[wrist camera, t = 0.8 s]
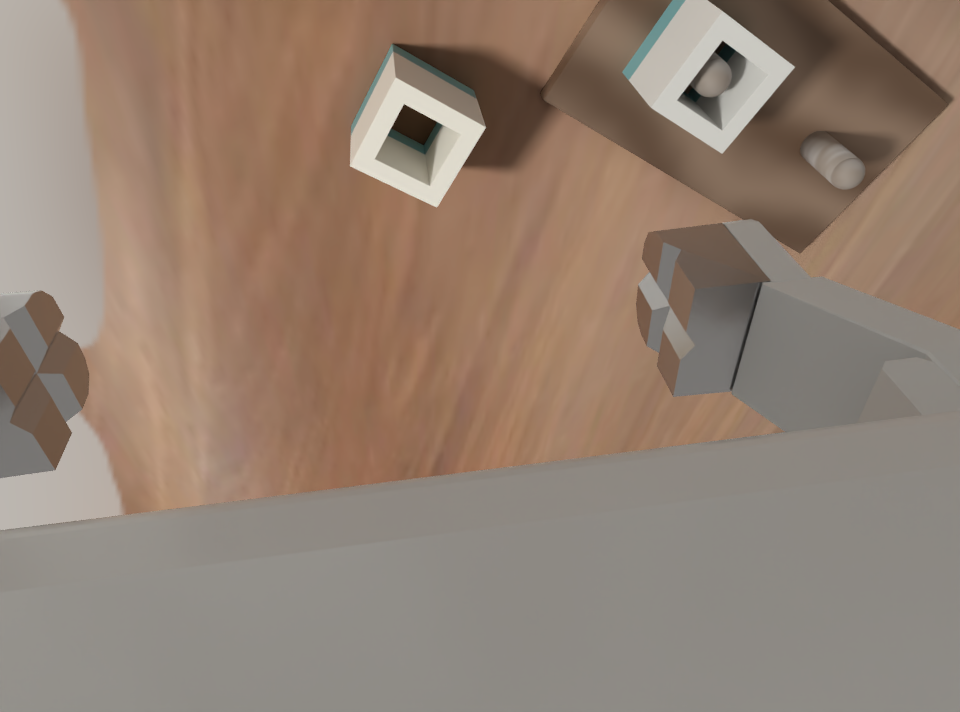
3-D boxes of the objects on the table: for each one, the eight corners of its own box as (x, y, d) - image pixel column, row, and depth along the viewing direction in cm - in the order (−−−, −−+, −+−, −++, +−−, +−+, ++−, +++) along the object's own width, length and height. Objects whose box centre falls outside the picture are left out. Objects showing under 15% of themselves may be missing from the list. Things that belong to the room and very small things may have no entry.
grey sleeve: (684, -17, 42) (722, 11, 37) (751, 35, 44) (795, 67, 40) (622, 72, 45) (650, 107, 40) (688, 115, 47) (722, 153, 43)
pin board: (679, -124, 39) (726, -106, 34) (938, 97, 50) (1001, 136, 45) (540, 93, 46) (561, 134, 41) (793, 245, 57) (834, 292, 52)
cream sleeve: (392, 43, 43) (395, 77, 39) (473, 90, 46) (486, 127, 41) (351, 125, 46) (349, 166, 42) (429, 165, 49) (436, 207, 44)
